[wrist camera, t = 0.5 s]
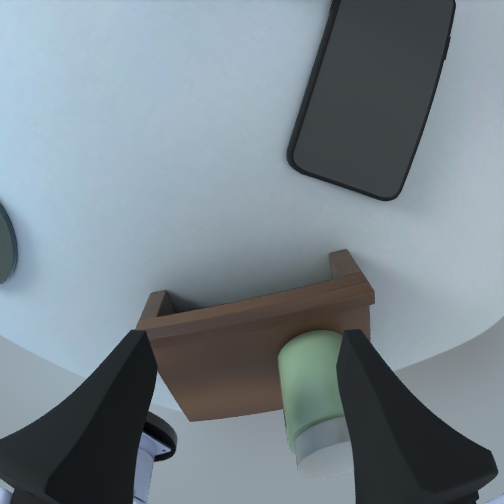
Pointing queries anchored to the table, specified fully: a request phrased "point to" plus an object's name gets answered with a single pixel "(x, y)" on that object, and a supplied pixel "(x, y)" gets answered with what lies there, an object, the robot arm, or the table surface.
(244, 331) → the shelf
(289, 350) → the shaker
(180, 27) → the table surface
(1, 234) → the coaster
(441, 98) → the table surface
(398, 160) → the smartphone
